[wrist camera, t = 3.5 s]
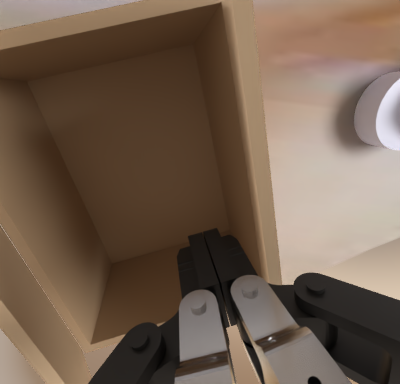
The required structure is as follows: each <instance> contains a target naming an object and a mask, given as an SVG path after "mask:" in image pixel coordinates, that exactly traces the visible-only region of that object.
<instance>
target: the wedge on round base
mask: <svg viewBox="0 0 400 384" xmlns="http://www.w3.org/2000/svg"><path fill="white" fill-rule="evenodd" d="M354 126H355V130H356V133H357V135H358V137H359V138H360V139H361V140H362V141H363V142H365V143H367V144H370V145H374V146H378V147H383V148H388V149H392V150H400V71H398V72H390V73H387V74H384V75H382V76H380V77H379V78H377V79H376V80H374V81H373V82H372V83H371V84H370V85H369V86H368V87H367V88H366V90H365V91H364V92H363V94H362V95H361V97H360V99H359V101H358V104H357V106H356V110H355V114H354Z"/></svg>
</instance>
